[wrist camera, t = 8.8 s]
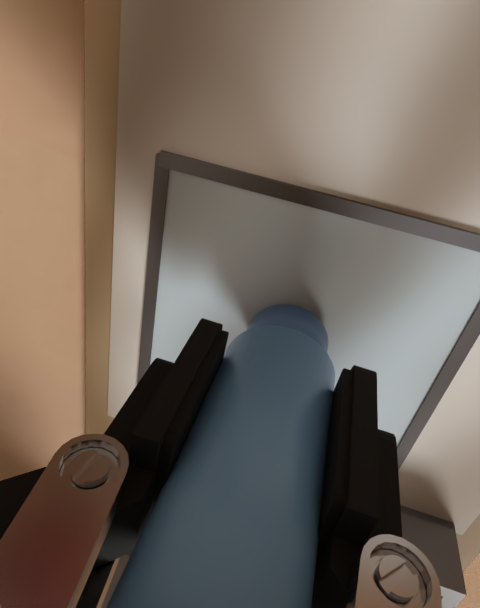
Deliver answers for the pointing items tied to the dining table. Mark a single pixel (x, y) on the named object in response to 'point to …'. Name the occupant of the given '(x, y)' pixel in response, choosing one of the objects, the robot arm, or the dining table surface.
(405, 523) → the button housing
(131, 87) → the clipboard
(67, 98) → the dining table surface
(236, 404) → the marker
